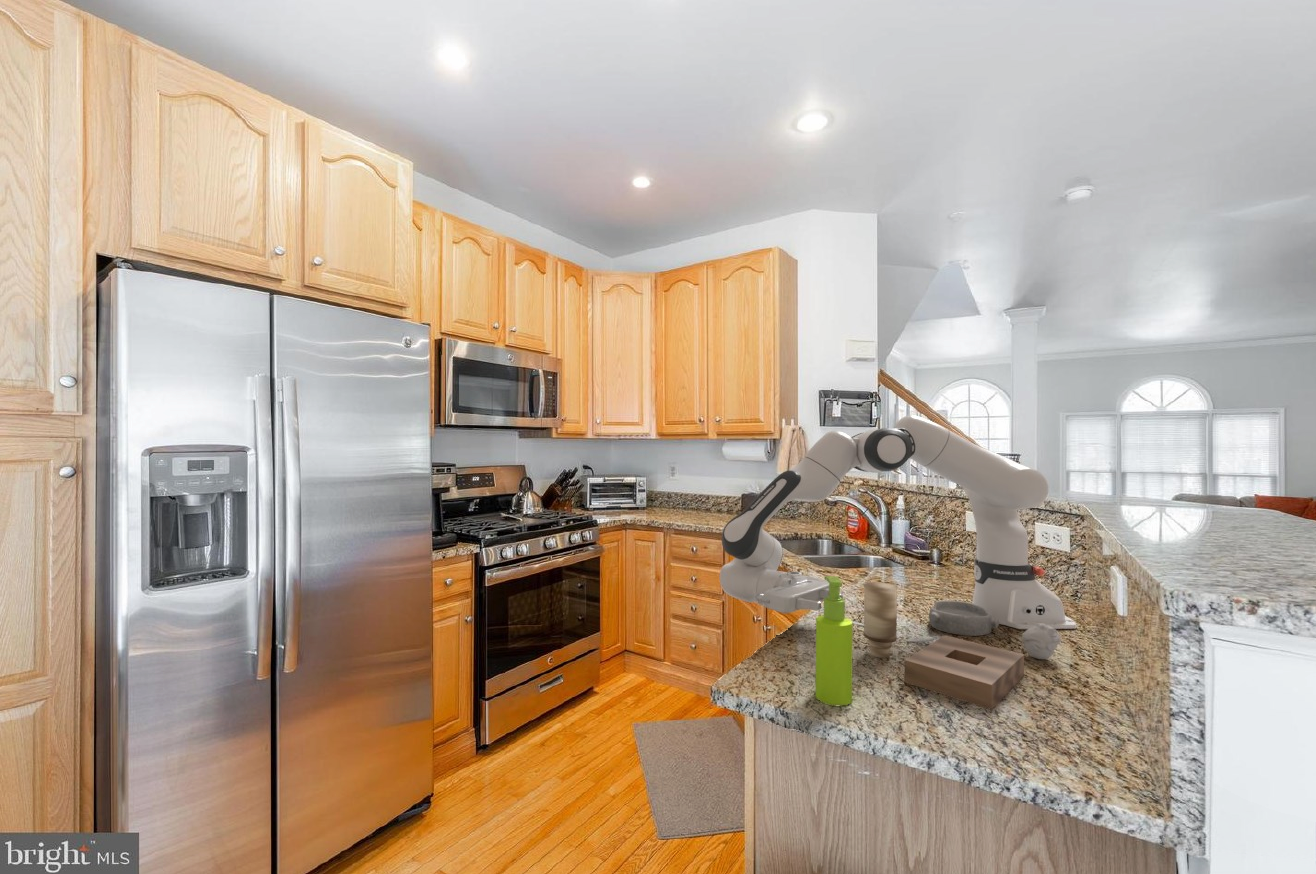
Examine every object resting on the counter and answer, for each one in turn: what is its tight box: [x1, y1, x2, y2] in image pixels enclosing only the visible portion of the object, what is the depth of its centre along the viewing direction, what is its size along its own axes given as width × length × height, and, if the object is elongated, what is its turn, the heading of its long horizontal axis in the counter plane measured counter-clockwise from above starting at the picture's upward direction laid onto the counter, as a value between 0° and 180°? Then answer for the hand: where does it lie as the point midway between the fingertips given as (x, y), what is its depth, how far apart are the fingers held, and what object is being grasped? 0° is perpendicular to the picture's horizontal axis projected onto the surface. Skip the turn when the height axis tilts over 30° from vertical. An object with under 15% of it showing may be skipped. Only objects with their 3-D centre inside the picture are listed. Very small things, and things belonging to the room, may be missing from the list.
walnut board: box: [904, 634, 1025, 710], centre depth 102 cm, size 20×14×4 cm
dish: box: [928, 600, 1000, 637], centre depth 131 cm, size 14×14×5 cm
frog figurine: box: [1021, 623, 1061, 660], centre depth 112 cm, size 6×7×7 cm
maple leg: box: [863, 581, 898, 659], centre depth 113 cm, size 6×6×14 cm
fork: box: [851, 620, 935, 643], centre depth 128 cm, size 3×24×2 cm, turn 37°
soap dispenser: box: [814, 575, 854, 706], centre depth 94 cm, size 6×7×20 cm
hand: (830, 602), depth 122 cm, fingers open, 8 cm apart
